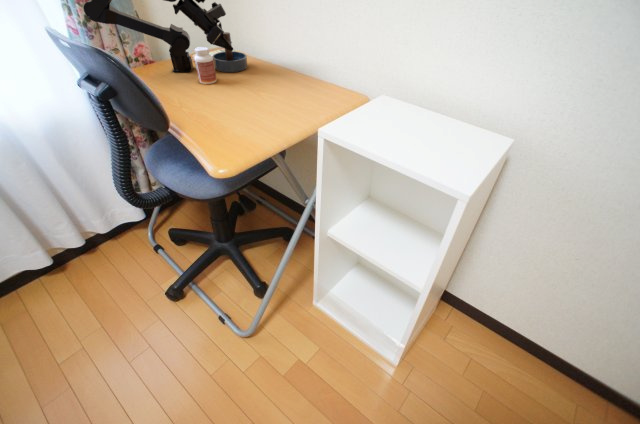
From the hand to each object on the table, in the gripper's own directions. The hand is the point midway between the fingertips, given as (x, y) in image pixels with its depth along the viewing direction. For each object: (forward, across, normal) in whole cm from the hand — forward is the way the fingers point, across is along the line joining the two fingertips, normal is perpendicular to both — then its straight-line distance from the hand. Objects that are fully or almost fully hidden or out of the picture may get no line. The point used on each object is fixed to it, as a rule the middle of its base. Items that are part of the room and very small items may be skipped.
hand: (231, 46), depth 121 cm
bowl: (+5, 0, +7) cm, 8 cm away
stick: (+4, 0, +6) cm, 7 cm away
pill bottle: (-2, -14, +13) cm, 20 cm away
